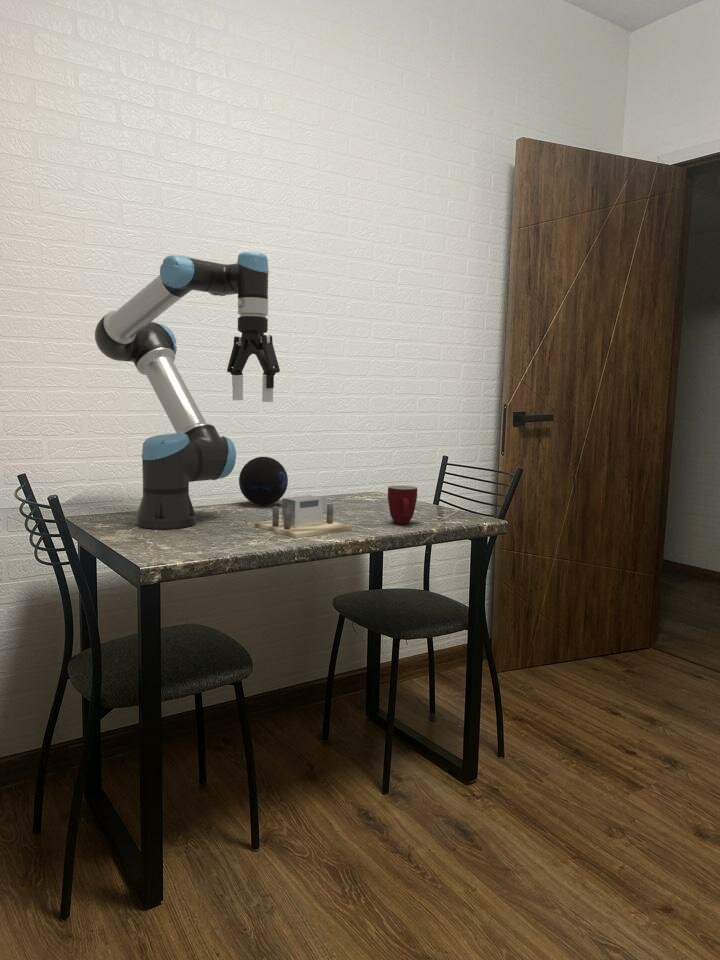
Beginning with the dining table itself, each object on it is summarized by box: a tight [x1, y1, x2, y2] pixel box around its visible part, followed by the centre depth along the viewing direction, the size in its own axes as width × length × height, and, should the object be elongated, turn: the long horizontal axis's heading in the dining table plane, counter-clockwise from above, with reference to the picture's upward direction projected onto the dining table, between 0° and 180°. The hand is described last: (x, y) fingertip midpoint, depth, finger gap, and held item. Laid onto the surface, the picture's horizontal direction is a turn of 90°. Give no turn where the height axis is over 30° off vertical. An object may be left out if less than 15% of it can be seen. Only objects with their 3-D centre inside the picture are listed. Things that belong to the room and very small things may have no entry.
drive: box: [281, 494, 324, 528], centre depth 191 cm, size 6×9×7 cm, turn 132°
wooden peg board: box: [254, 503, 353, 539], centre depth 191 cm, size 18×18×6 cm
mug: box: [387, 484, 418, 525], centre depth 200 cm, size 11×8×10 cm
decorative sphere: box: [238, 456, 289, 506], centre depth 226 cm, size 15×15×15 cm
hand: (252, 401), depth 187 cm, fingers open, 13 cm apart
